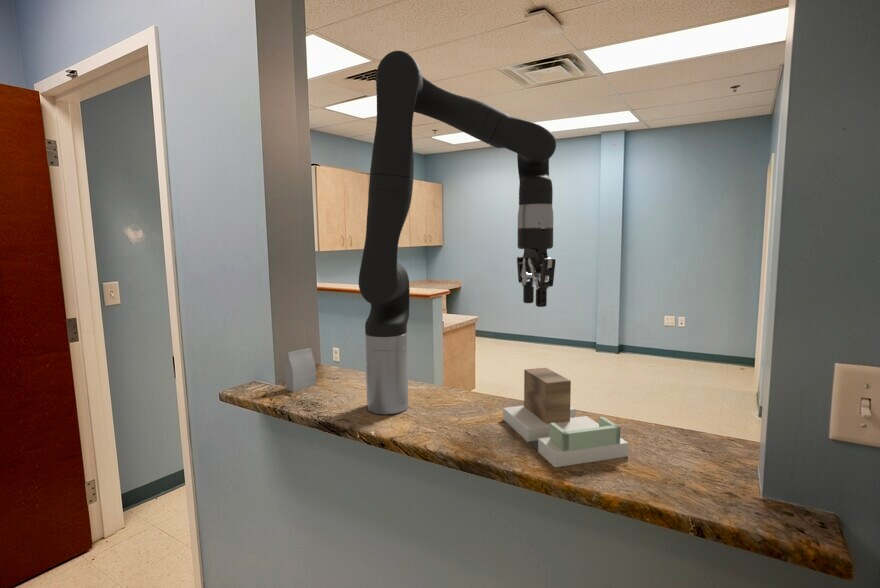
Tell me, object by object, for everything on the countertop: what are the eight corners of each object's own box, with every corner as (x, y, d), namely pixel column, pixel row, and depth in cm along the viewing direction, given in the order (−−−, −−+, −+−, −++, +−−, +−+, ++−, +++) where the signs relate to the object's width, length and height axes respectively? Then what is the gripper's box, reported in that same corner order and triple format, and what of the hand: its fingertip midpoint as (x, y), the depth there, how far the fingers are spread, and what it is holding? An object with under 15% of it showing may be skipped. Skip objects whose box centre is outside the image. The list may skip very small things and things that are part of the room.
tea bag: (316, 386, 123) (314, 348, 122) (293, 392, 118) (291, 353, 117) (308, 383, 125) (306, 347, 124) (285, 389, 120) (283, 351, 119)
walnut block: (524, 406, 98) (524, 369, 98) (545, 404, 100) (546, 367, 99) (546, 424, 89) (547, 383, 88) (570, 421, 90) (570, 380, 89)
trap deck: (503, 419, 98) (503, 394, 97) (563, 412, 102) (563, 387, 101) (554, 467, 77) (555, 435, 76) (628, 456, 80) (629, 425, 80)
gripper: (505, 227, 106) (505, 301, 108) (534, 225, 92) (533, 310, 94) (536, 227, 108) (535, 300, 110) (568, 225, 94) (567, 308, 96)
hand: (534, 304), depth 102 cm, fingers open, 5 cm apart
